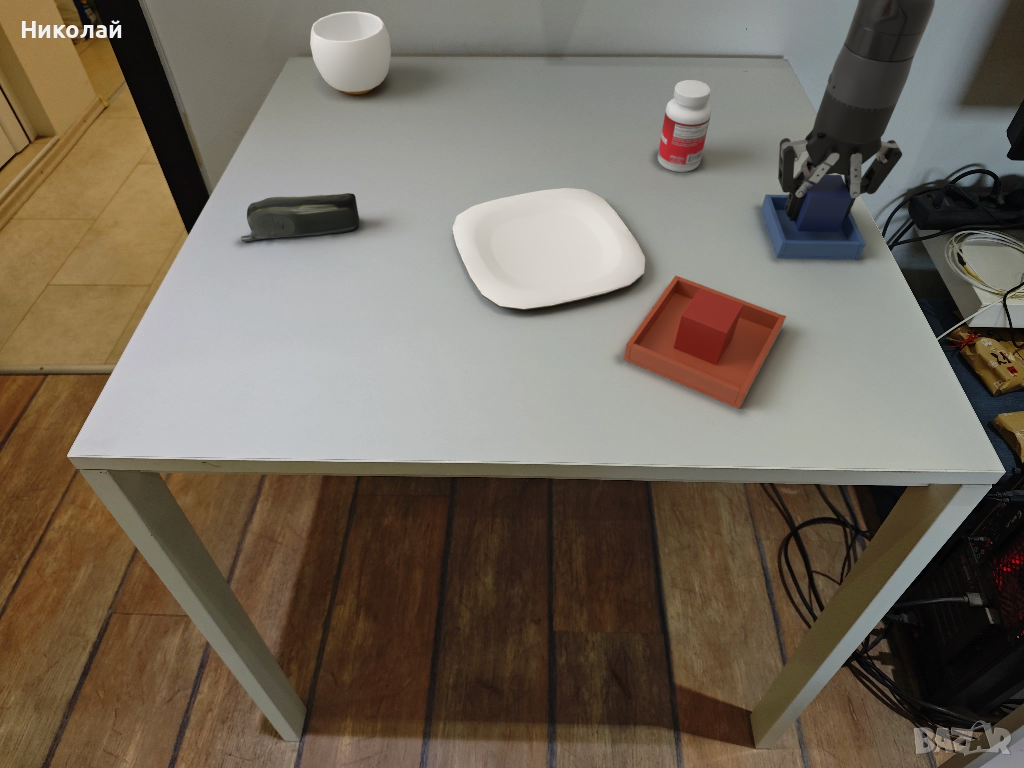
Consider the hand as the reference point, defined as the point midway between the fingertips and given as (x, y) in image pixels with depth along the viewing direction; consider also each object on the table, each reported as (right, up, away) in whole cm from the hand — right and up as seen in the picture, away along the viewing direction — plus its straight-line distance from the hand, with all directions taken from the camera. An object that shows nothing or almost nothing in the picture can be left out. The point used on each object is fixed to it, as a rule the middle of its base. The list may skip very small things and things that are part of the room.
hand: (814, 217), depth 91 cm
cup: (-64, +28, +28) cm, 75 cm away
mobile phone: (-65, -2, +2) cm, 66 cm away
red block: (-17, -17, -11) cm, 26 cm away
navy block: (0, 0, 0) cm, 0 cm away
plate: (-34, -5, 0) cm, 34 cm away
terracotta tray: (-17, -17, -11) cm, 26 cm away
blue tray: (0, -2, +2) cm, 3 cm away
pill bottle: (-14, +11, +13) cm, 22 cm away
